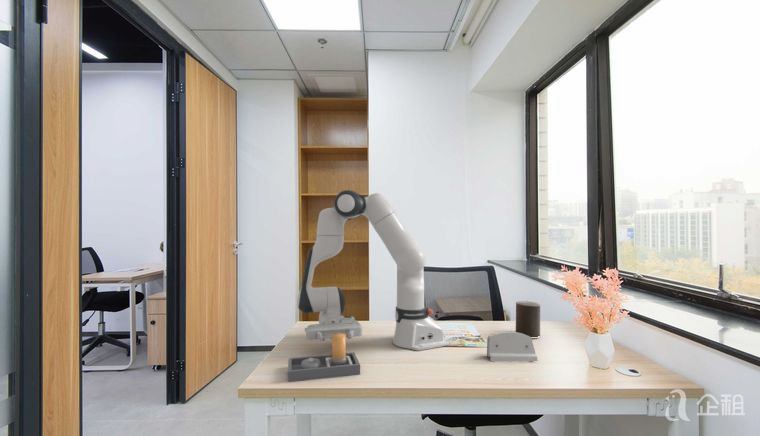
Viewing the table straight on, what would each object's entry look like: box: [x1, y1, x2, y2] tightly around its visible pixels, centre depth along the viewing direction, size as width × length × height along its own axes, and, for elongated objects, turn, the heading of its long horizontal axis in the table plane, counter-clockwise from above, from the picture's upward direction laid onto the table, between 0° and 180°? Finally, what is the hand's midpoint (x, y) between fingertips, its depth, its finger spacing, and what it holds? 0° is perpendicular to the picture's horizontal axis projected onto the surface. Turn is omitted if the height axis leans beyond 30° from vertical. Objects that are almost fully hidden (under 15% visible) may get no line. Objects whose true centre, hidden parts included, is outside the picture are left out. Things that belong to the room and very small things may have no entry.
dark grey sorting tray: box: [287, 351, 361, 383], centre depth 111 cm, size 22×11×4 cm, turn 104°
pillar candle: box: [515, 299, 541, 337], centre depth 148 cm, size 10×10×15 cm
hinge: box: [486, 331, 539, 362], centre depth 123 cm, size 17×5×10 cm, turn 88°
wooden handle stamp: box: [331, 333, 347, 366], centre depth 113 cm, size 5×5×10 cm
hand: (336, 337), depth 120 cm, fingers open, 8 cm apart
